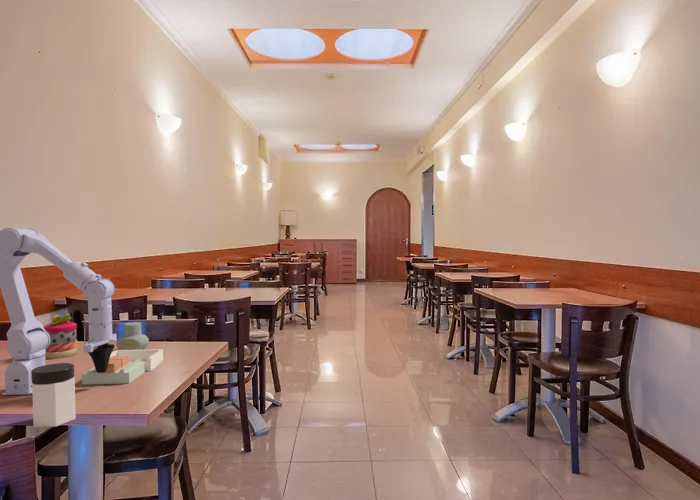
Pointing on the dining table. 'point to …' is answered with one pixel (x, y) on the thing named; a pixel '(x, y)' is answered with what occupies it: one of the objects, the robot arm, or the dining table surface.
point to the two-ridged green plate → (115, 374)
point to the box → (143, 356)
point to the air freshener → (132, 338)
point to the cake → (61, 338)
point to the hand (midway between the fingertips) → (101, 372)
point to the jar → (53, 394)
